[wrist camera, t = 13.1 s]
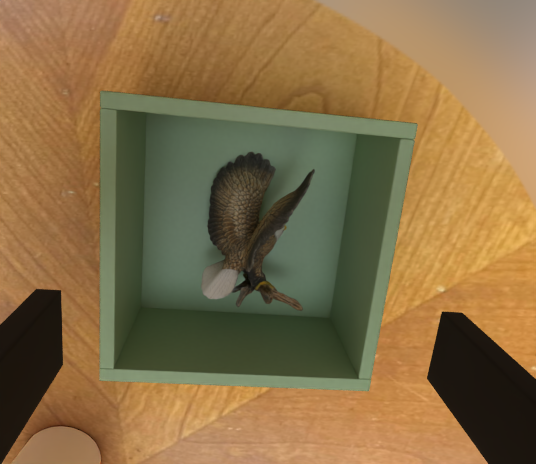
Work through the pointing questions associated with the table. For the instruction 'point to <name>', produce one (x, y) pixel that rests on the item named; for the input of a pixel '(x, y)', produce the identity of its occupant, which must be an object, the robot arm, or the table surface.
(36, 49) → the table surface
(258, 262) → the eagle figurine
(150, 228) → the bin
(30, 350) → the robot arm
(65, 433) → the cup
